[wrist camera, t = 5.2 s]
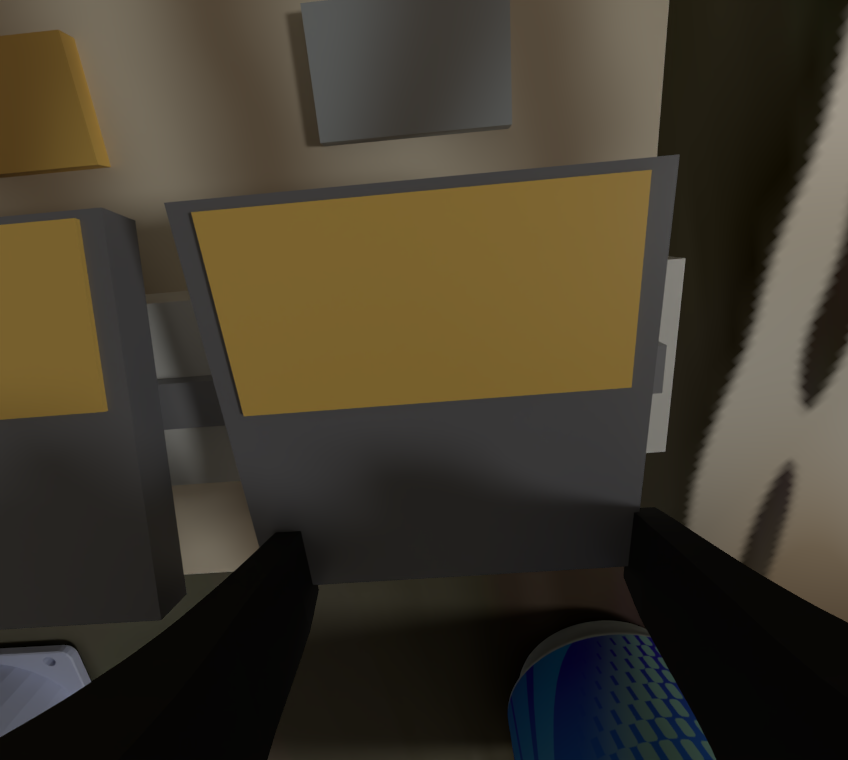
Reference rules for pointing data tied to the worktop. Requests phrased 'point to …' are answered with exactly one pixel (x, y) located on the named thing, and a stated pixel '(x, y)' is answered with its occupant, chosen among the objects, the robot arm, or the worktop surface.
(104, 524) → the switch
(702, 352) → the worktop surface
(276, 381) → the switch
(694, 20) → the worktop surface
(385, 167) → the base
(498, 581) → the worktop surface
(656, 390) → the switch housing
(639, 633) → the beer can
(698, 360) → the worktop surface
